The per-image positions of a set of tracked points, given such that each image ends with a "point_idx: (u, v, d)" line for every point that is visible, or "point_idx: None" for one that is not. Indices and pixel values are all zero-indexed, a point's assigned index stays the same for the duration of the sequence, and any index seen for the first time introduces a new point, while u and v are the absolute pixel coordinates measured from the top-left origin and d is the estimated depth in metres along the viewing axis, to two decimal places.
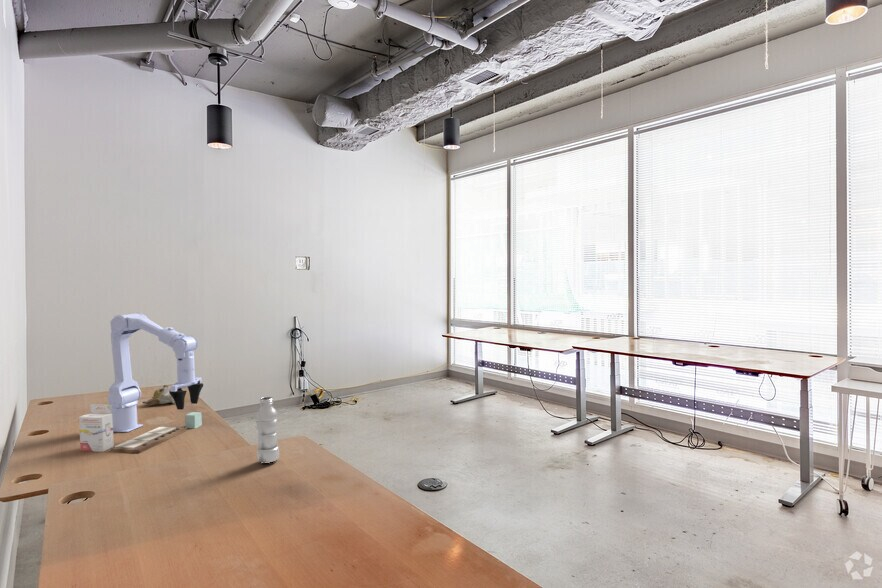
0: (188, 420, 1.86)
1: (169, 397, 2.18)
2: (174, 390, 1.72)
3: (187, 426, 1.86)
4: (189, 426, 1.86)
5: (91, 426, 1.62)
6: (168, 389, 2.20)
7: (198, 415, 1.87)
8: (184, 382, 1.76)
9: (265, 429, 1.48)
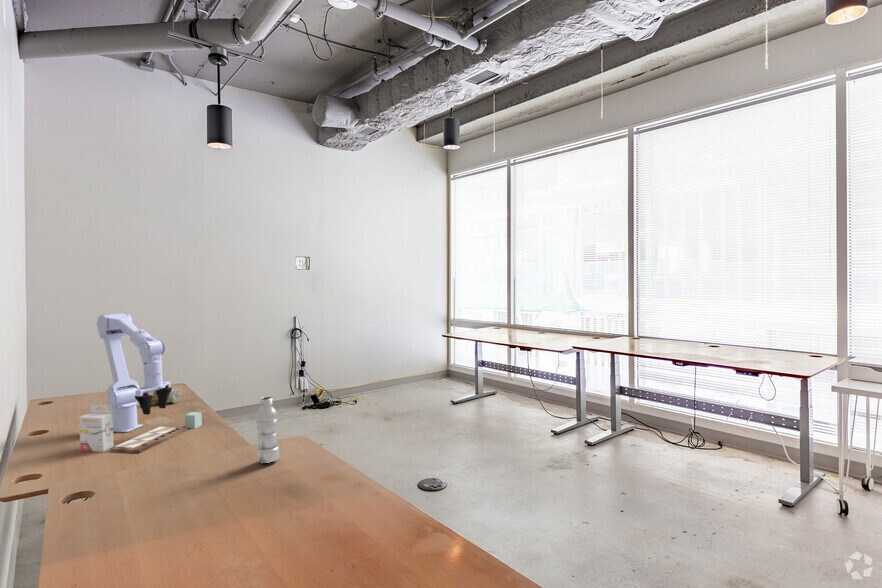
0: (188, 420, 1.86)
1: (169, 397, 2.19)
2: (139, 395, 1.68)
3: (187, 426, 1.86)
4: (189, 426, 1.86)
5: (91, 426, 1.62)
6: None
7: (198, 415, 1.87)
8: (150, 386, 1.73)
9: (265, 429, 1.48)
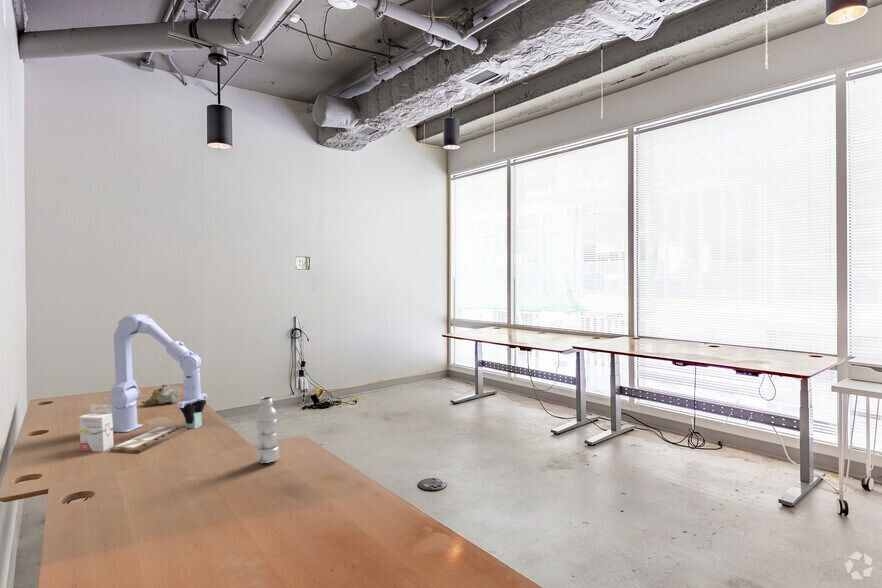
0: None
1: (168, 397, 2.19)
2: (181, 407, 1.80)
3: (187, 426, 1.86)
4: (189, 426, 1.86)
5: (91, 426, 1.62)
6: (167, 389, 2.21)
7: (198, 415, 1.87)
8: (190, 398, 1.84)
9: (265, 429, 1.48)
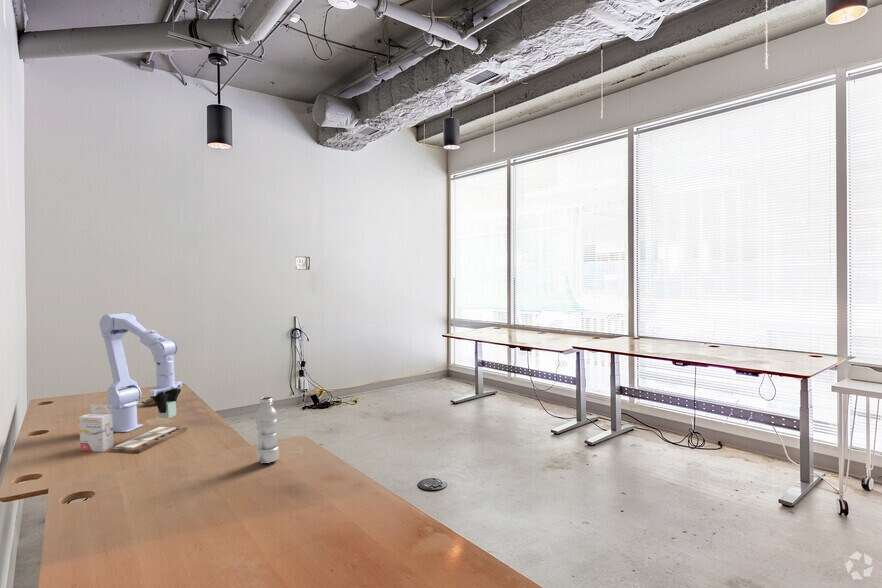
0: None
1: None
2: (153, 395, 1.70)
3: (160, 416, 1.76)
4: (162, 416, 1.76)
5: (91, 426, 1.62)
6: None
7: (172, 404, 1.77)
8: (163, 386, 1.74)
9: (265, 429, 1.48)
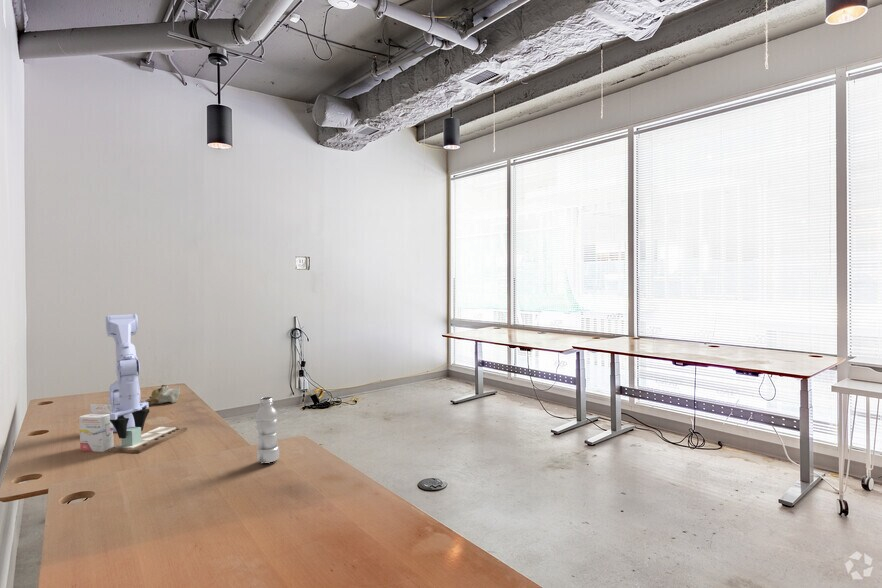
0: None
1: (168, 396, 2.19)
2: (114, 418, 1.58)
3: (124, 443, 1.64)
4: (125, 443, 1.64)
5: (91, 426, 1.62)
6: (166, 388, 2.21)
7: (137, 430, 1.66)
8: (126, 409, 1.63)
9: (265, 429, 1.48)
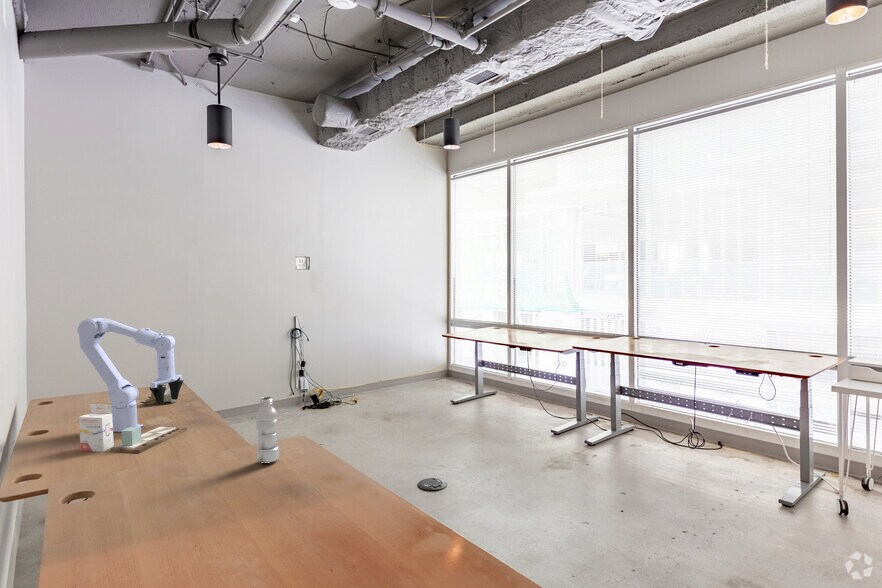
0: (124, 436, 1.64)
1: (168, 396, 2.19)
2: (154, 386, 1.80)
3: (124, 443, 1.64)
4: (125, 443, 1.64)
5: (91, 426, 1.62)
6: (166, 388, 2.21)
7: (137, 430, 1.66)
8: (164, 379, 1.85)
9: (265, 429, 1.48)
